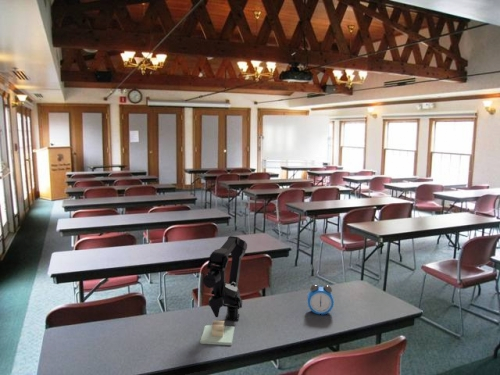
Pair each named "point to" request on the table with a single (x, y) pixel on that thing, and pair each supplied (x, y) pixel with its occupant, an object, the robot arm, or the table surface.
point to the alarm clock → (320, 299)
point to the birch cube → (218, 328)
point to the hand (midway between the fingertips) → (218, 312)
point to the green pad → (210, 339)
